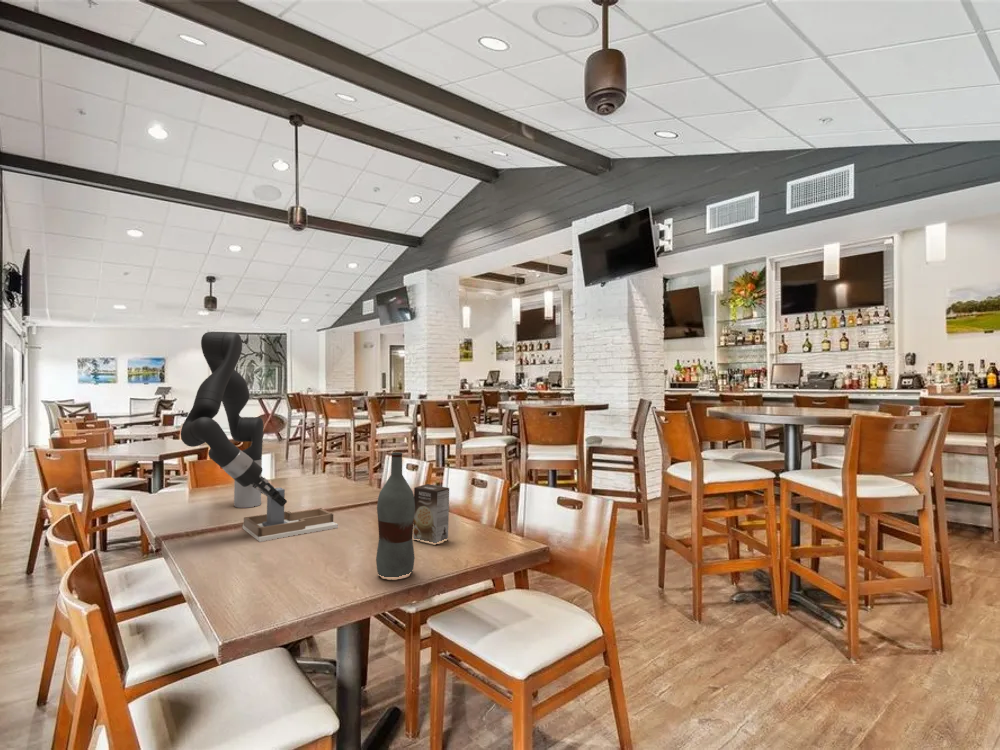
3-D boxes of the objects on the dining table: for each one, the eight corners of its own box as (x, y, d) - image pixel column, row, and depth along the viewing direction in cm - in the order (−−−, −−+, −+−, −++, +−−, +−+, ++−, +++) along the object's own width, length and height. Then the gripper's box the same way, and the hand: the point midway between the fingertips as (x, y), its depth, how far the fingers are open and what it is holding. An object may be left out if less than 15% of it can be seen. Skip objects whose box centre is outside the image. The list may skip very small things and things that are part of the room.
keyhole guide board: (242, 528, 169) (242, 516, 169) (316, 516, 185) (316, 506, 185) (259, 541, 156) (259, 529, 156) (337, 527, 171) (338, 516, 171)
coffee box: (411, 540, 158) (412, 487, 159) (425, 535, 164) (426, 483, 164) (435, 546, 153) (436, 490, 154) (449, 540, 159) (450, 487, 159)
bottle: (379, 584, 125) (381, 456, 125) (372, 571, 133) (374, 451, 133) (418, 578, 128) (420, 454, 129) (409, 566, 137) (411, 449, 137)
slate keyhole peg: (262, 525, 167) (263, 488, 168) (281, 522, 171) (282, 486, 172) (268, 529, 163) (269, 492, 163) (288, 526, 167) (288, 489, 167)
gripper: (258, 461, 157) (298, 497, 165) (244, 455, 168) (283, 489, 176) (238, 481, 154) (280, 516, 161) (226, 474, 165) (266, 507, 172)
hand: (282, 502), depth 169 cm, fingers closed on slate keyhole peg, 4 cm apart
